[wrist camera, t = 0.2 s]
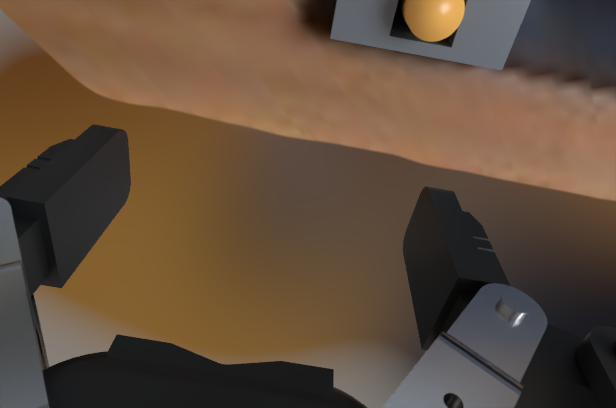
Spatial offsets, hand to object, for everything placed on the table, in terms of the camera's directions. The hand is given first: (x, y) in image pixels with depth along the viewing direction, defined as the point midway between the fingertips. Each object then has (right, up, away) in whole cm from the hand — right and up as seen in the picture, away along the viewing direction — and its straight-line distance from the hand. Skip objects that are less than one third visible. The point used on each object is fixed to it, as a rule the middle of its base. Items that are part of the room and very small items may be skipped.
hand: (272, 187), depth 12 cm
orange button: (+10, +15, +22) cm, 28 cm away
